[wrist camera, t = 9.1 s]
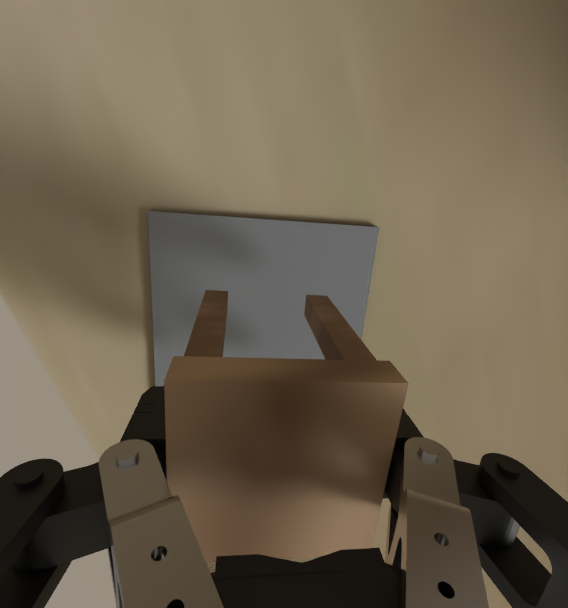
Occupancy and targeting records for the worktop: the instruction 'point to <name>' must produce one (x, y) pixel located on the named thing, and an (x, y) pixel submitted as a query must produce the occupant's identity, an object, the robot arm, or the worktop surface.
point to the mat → (254, 280)
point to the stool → (280, 439)
